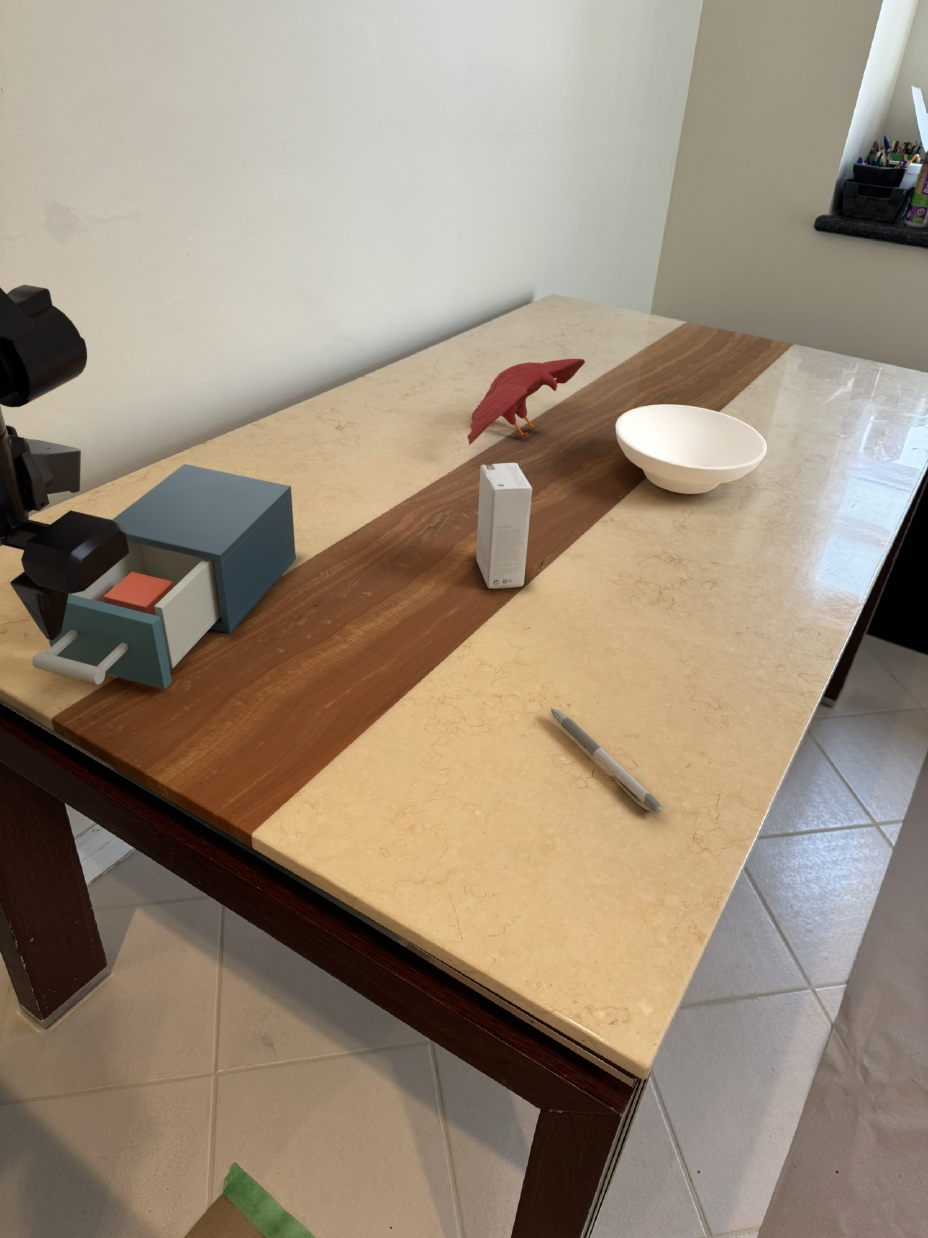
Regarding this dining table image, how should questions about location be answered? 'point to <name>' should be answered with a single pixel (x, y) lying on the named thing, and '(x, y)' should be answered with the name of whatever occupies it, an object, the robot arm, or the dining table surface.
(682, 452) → the bowl
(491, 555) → the cosmetic box
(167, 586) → the terracotta rounded cube
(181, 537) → the cabinet
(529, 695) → the dining table surface
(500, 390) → the decorative bird sculpture
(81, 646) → the open handled drawer
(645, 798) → the pen
